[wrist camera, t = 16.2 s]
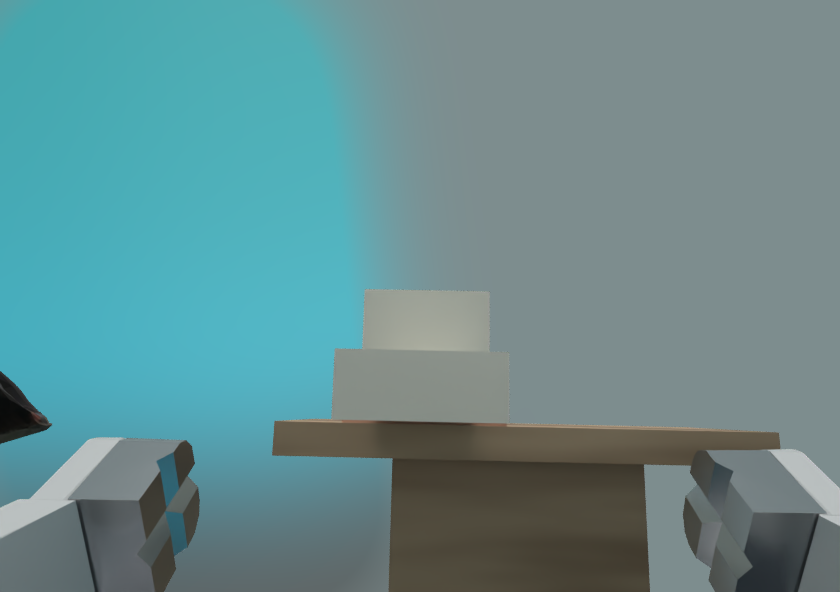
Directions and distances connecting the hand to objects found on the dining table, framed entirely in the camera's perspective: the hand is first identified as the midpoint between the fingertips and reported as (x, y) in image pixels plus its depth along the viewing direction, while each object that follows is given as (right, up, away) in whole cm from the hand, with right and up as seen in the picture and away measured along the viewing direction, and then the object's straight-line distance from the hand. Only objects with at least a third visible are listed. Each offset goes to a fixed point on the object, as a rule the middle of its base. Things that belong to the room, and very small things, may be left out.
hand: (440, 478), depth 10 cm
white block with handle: (0, 0, +7) cm, 7 cm away
